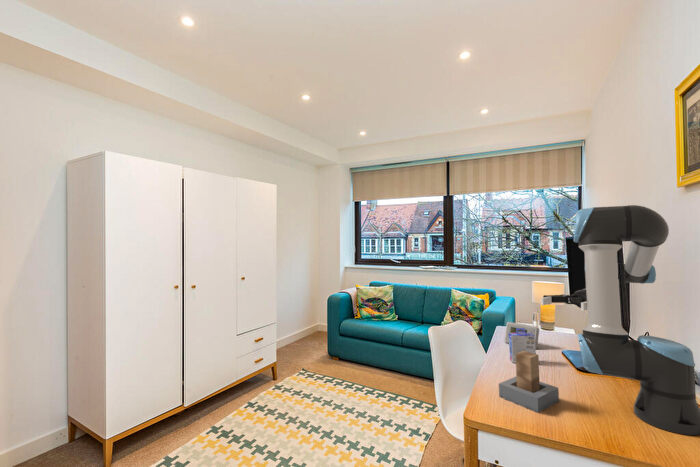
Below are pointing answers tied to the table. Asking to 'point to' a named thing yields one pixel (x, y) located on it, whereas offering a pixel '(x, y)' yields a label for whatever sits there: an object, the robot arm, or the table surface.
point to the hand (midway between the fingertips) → (561, 304)
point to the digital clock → (528, 329)
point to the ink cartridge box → (521, 343)
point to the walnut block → (527, 371)
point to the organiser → (529, 395)
